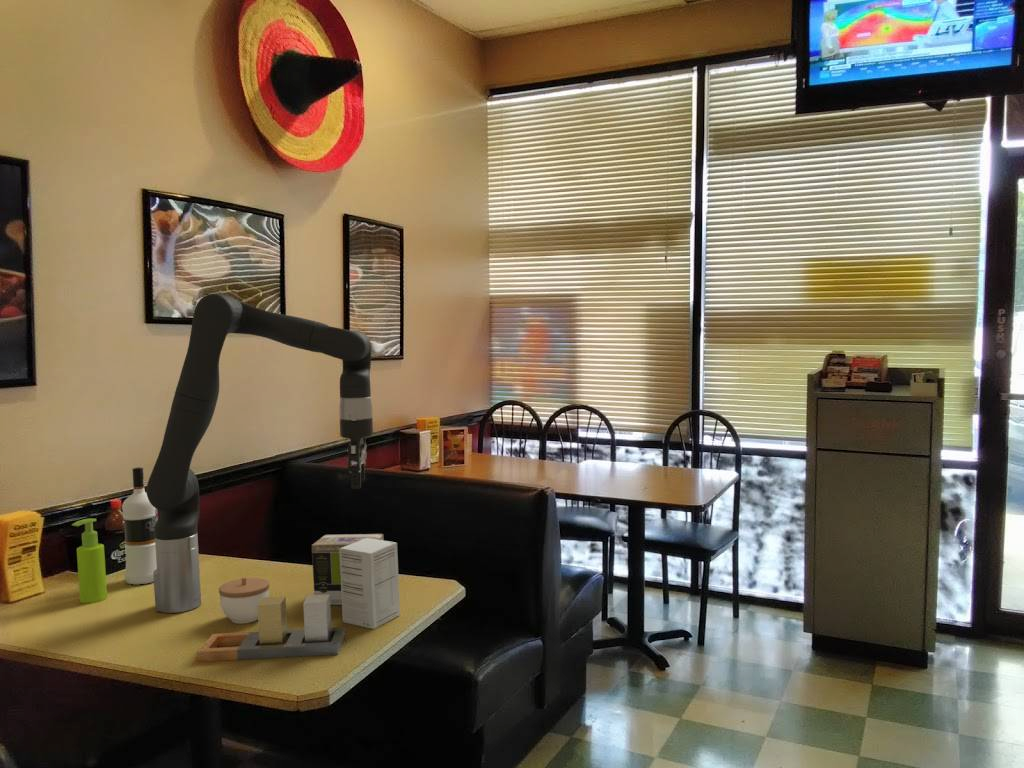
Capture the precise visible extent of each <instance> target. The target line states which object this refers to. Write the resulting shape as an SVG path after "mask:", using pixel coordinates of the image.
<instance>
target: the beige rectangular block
mask: <svg viewBox="0 0 1024 768" xmlns="http://www.w3.org/2000/svg"><path fill="white" fill-rule="evenodd" d="M287 619H288V617H287V600H286V596H269V597H264V598H263V599H262V600H261V601H260V603H259V604H258V620H257V621H258V622H257V623H258V632H259V645H260V646H264V645H283V644H286V642H287V641H288V636H287V630H288V621H287Z"/></svg>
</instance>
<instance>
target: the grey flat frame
mask: <svg viewBox="0 0 1024 768" xmlns="http://www.w3.org/2000/svg"><path fill="white" fill-rule="evenodd" d="M331 629H332V641H331V642H322V643H305V628H304V629H287V636H288V641H287V642H286V644H283V645H264V646H260V645H259V631H246V632H245V631H244V632H243V631H242V632H226V633H225V632H224V633H212V634H211V635H210V637H209V638H208V639H207V641H206V642H205V643H203V645H202V646H201V648H200V649H199V650H198V651H197V659H198V662H200V663H201V662H202V663H203V662H204V663H205V662H219V661H220V662H221V661H222V662H223V661H240V660H242V661H243V660H258V659H276V658H297V657H314V656H316V657H317V656H332V655H333V656H337V655H339V653H340V650H341V647H342V645H343V643H344V639H345V638H346V637H345V636H346V634H345V627H344V626H343V627H331ZM223 646H226V647H223ZM228 646H229V647H228Z"/></svg>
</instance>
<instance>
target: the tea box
mask: <svg viewBox="0 0 1024 768" xmlns="http://www.w3.org/2000/svg"><path fill="white" fill-rule="evenodd" d="M365 538H371V539H377V540H383V541H385V539H384V534H383V533H366V534H365V533H364V534H363V533H358V534H357V533H356V534H355V533H353V534H352V533H351V534H348V533H346V534H325V535H323V536H322V537H320V538H319V539H318V540H316V541H315V542H314V543H313V544H311V558H312V561H311V562H312V577H313V578H312V579H313V580H312V581H313V595H327V594H330V606H332V605H333V606H335V605H336V606H342V595H341V575H340V556H339V549H340V548H342V547H345V546H347V545H350V544H352V543H355V542H358V541H360V540H363V539H365Z"/></svg>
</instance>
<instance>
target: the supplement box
mask: <svg viewBox="0 0 1024 768" xmlns="http://www.w3.org/2000/svg"><path fill="white" fill-rule="evenodd" d="M339 556H340V575H341V595H342V605H341V610H342V612H341V613H342V614H341V615H342V622H343V623H345V624H349V625H354V626H359V627H362V628H367V629H372V630H375V629H376V628H378V627H380V626H382V625H385V624H387V622H390V621H391V620H393V619H395V618H397V617H399V616H400V615H401V605H400V604H401V602H400V584H399V583H400V581H399V580H400V579H399V558H398V543H397V542H394V541H389V540H384V541H383V540H377V539H371V538H365V539H363V540H360V541H358V542H355V543H352V544H350V545H347V546H345V547H342V548H340V549H339Z"/></svg>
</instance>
